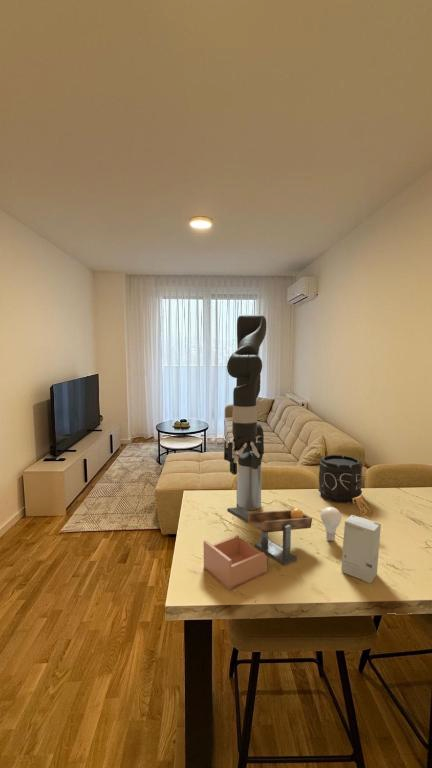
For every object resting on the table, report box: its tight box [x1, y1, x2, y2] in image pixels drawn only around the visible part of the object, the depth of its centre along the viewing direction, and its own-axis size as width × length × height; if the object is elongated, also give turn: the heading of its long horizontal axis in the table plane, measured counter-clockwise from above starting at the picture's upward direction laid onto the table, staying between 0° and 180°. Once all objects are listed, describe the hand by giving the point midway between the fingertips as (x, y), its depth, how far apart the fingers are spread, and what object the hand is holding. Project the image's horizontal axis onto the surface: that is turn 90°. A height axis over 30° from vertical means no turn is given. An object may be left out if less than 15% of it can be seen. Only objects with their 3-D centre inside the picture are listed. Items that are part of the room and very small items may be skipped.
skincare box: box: [340, 514, 382, 584], centre depth 99 cm, size 8×6×15 cm
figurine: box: [352, 494, 372, 521], centre depth 125 cm, size 8×6×12 cm
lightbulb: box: [320, 506, 342, 542], centre depth 117 cm, size 6×6×11 cm
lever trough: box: [226, 506, 313, 534], centre depth 114 cm, size 20×18×3 cm
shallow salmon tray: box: [203, 535, 268, 591], centre depth 101 cm, size 12×13×8 cm
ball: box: [291, 507, 304, 519], centre depth 115 cm, size 4×4×4 cm
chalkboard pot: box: [317, 454, 364, 504], centre depth 153 cm, size 18×18×16 cm
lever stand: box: [254, 524, 298, 567], centre depth 110 cm, size 5×13×10 cm, turn 35°
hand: (244, 471), depth 112 cm, fingers open, 8 cm apart
